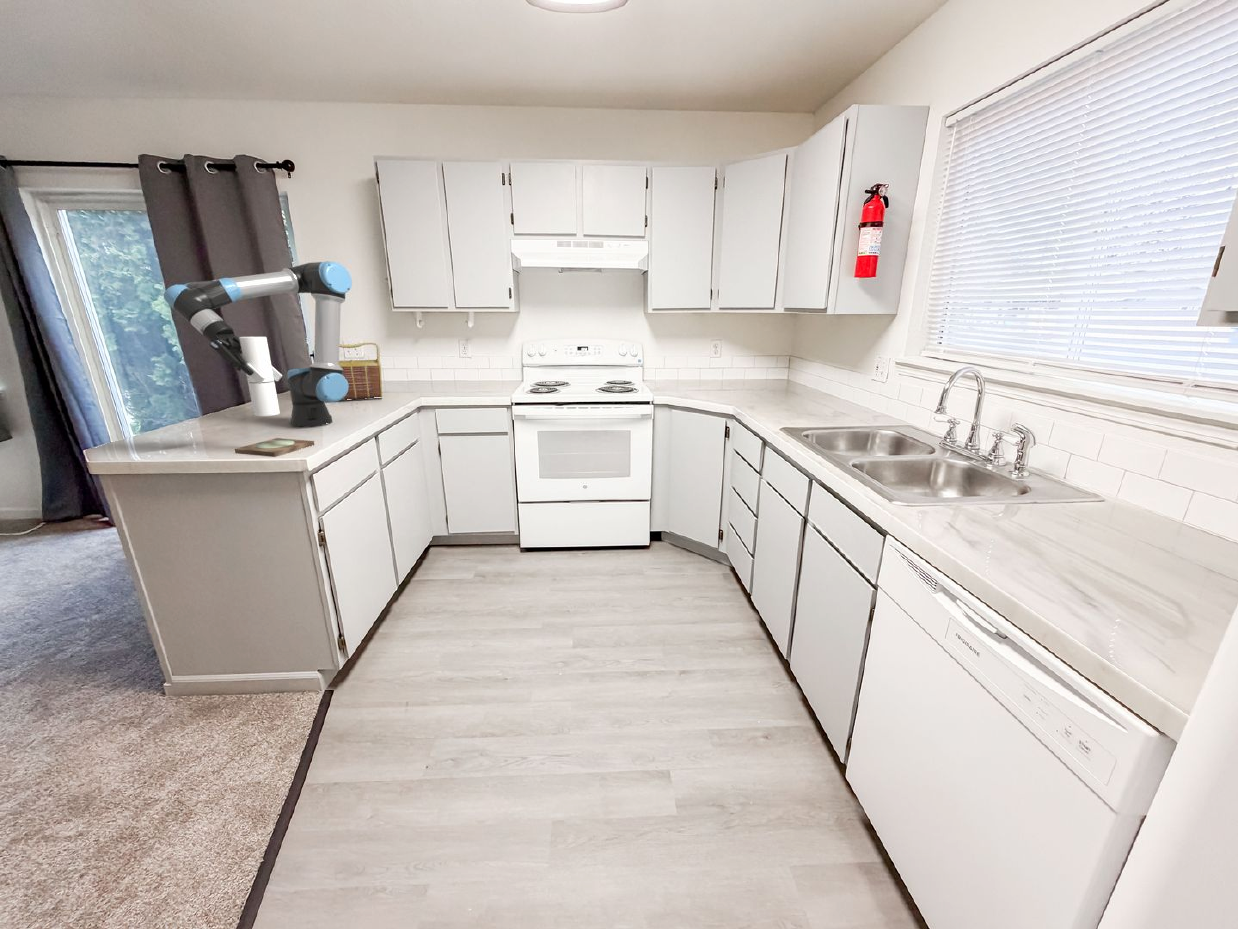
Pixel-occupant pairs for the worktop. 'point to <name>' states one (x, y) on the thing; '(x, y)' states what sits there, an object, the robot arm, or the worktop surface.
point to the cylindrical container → (259, 359)
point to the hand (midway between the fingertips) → (271, 379)
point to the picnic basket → (362, 376)
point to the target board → (274, 447)
